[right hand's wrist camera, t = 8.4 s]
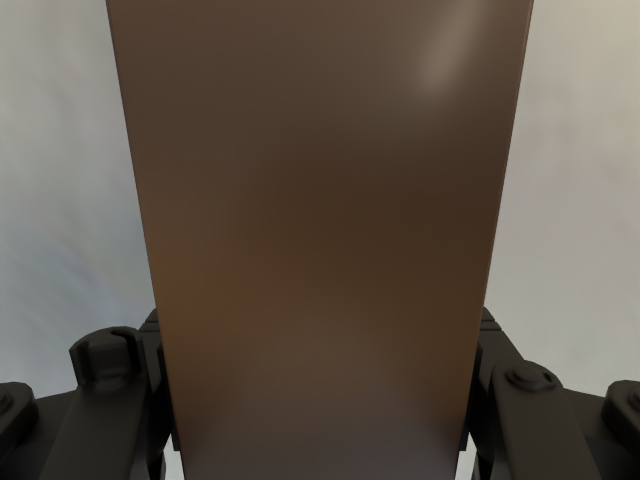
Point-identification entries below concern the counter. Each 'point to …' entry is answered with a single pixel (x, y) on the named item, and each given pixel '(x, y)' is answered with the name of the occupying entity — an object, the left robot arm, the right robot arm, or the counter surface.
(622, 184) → the counter surface
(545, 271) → the counter surface
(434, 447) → the post
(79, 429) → the right robot arm
